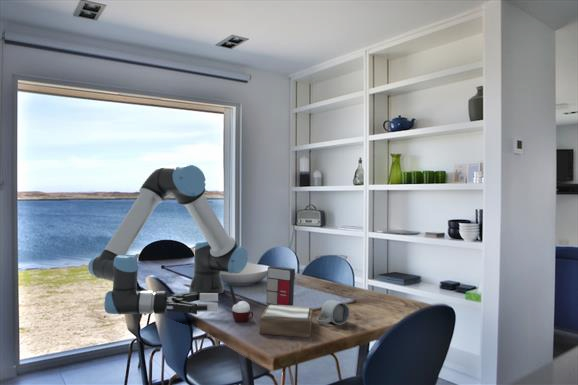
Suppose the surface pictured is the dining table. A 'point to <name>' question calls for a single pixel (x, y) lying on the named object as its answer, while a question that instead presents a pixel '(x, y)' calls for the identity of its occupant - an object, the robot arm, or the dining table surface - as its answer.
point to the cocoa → (240, 309)
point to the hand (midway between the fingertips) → (218, 301)
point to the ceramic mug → (334, 312)
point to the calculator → (280, 286)
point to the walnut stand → (286, 320)
